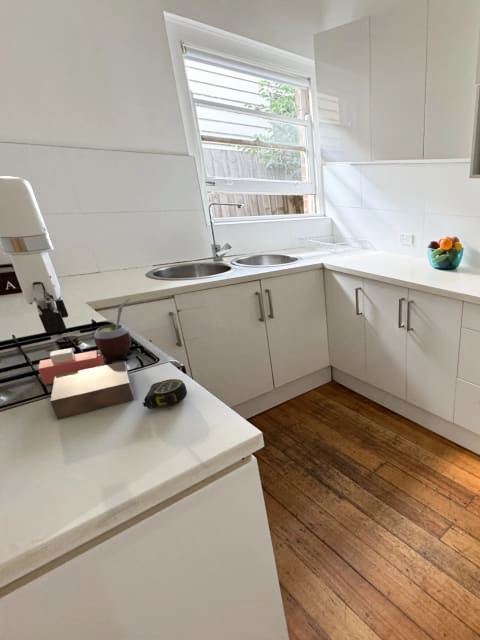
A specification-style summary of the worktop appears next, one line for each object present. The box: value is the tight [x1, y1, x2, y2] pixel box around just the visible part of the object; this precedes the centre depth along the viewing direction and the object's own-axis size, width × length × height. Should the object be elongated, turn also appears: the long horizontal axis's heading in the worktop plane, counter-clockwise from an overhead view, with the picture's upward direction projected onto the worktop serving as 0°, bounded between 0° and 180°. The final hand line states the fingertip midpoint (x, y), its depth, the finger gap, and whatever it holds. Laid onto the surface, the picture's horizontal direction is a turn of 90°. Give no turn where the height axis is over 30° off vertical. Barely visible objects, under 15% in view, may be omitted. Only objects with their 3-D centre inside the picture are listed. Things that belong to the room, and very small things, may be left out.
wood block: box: [49, 360, 135, 420], centre depth 79 cm, size 12×12×4 cm
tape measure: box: [141, 378, 188, 410], centre depth 78 cm, size 7×7×4 cm
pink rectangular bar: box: [37, 347, 106, 386], centre depth 86 cm, size 11×5×6 cm, turn 128°
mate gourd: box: [93, 297, 133, 364], centre depth 93 cm, size 8×8×15 cm
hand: (58, 324), depth 83 cm, fingers open, 9 cm apart
